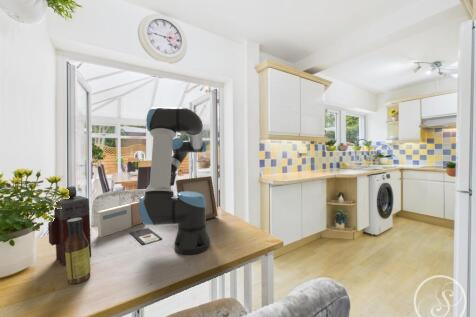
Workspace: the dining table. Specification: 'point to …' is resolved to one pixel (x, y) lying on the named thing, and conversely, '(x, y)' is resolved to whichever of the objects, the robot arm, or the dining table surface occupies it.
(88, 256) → the sauce bottle
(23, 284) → the dining table surface
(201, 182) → the photo frame
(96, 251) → the dining table surface
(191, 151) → the robot arm
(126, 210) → the white slotted box
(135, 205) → the stub
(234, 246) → the dining table surface
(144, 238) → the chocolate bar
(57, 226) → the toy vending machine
